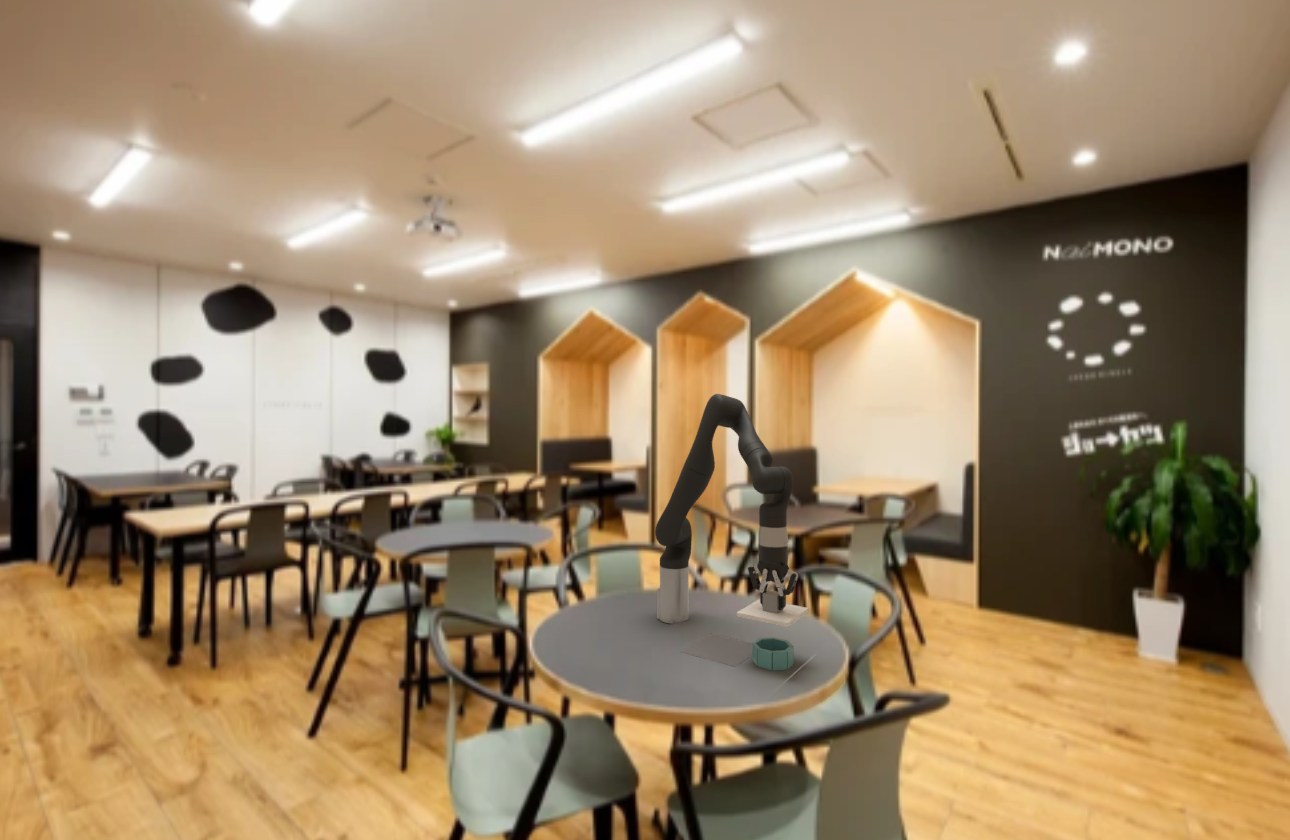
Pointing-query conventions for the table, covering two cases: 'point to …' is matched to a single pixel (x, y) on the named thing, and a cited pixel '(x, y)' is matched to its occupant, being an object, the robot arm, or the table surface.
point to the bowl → (773, 653)
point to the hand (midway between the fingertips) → (773, 607)
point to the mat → (720, 649)
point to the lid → (772, 611)
